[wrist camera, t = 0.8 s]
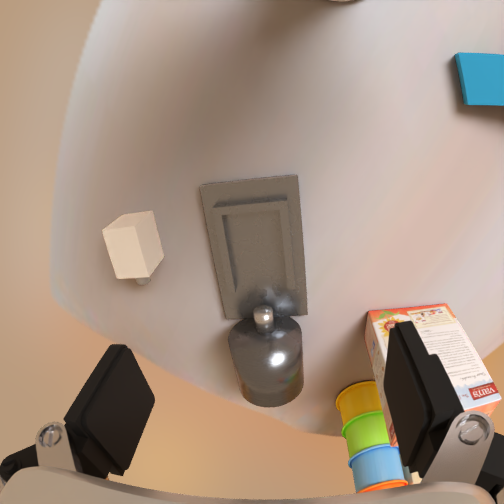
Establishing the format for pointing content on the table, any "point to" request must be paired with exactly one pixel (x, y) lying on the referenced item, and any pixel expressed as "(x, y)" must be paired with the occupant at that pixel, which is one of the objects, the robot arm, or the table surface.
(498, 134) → the table surface
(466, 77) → the blue ramp
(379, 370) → the cracker box
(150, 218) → the block
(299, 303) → the electric bell
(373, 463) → the stacking cups
